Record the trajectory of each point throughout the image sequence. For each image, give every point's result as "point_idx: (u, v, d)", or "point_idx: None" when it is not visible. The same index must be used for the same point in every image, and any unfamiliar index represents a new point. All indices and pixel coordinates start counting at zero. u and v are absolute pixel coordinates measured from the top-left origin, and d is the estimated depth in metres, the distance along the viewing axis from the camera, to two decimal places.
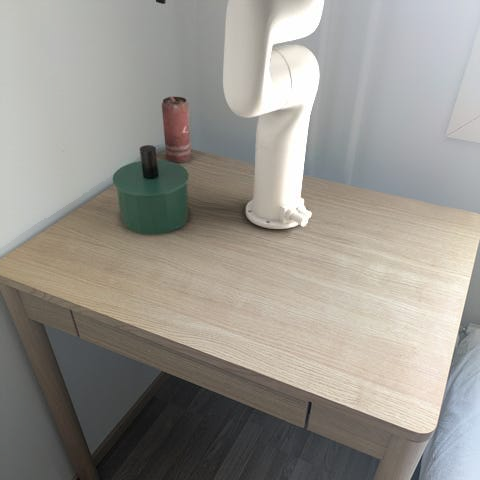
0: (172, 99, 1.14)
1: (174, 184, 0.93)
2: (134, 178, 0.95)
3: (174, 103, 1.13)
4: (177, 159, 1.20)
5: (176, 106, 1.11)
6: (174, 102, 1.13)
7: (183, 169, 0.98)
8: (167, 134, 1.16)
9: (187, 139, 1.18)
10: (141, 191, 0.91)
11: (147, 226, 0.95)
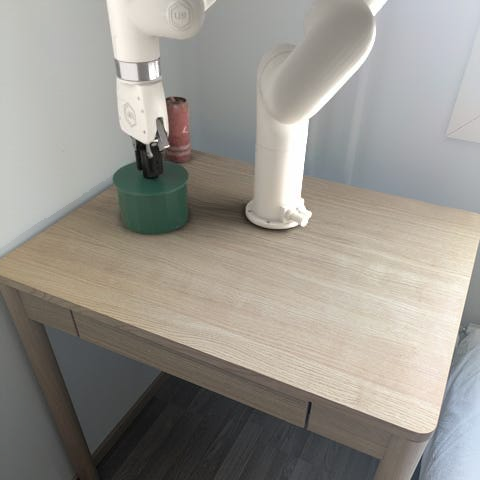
0: (172, 99, 1.14)
1: (174, 184, 0.93)
2: (134, 178, 0.95)
3: (174, 103, 1.13)
4: (177, 159, 1.20)
5: (176, 106, 1.11)
6: (174, 102, 1.13)
7: (183, 169, 0.98)
8: None
9: (187, 139, 1.18)
10: (141, 191, 0.91)
11: (147, 226, 0.95)
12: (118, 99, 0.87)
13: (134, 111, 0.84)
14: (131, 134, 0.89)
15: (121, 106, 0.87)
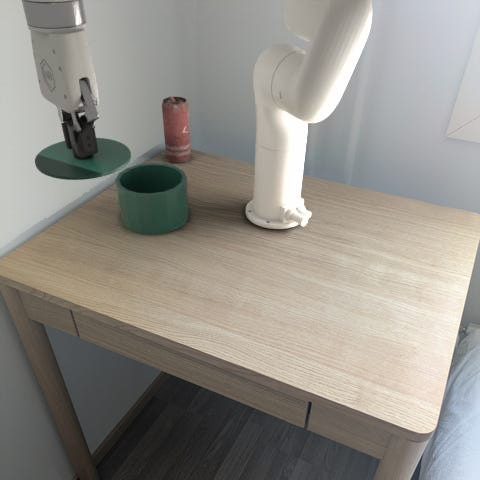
0: (172, 99, 1.14)
1: (110, 166, 0.75)
2: (62, 158, 0.76)
3: (174, 103, 1.13)
4: (177, 159, 1.20)
5: (176, 106, 1.11)
6: (174, 102, 1.13)
7: (125, 148, 0.79)
8: (167, 134, 1.16)
9: (187, 139, 1.18)
10: (67, 173, 0.72)
11: (147, 226, 0.95)
12: (34, 56, 0.69)
13: (51, 69, 0.66)
14: (52, 101, 0.70)
15: (38, 65, 0.69)
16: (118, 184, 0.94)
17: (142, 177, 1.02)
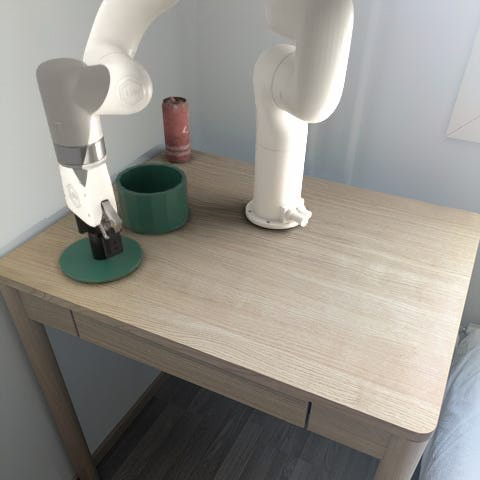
0: (172, 99, 1.14)
1: (125, 267, 0.87)
2: (83, 259, 0.88)
3: (174, 103, 1.13)
4: (177, 159, 1.20)
5: (176, 106, 1.11)
6: (174, 102, 1.13)
7: (137, 246, 0.91)
8: (167, 134, 1.16)
9: (187, 139, 1.18)
10: (88, 277, 0.84)
11: (147, 226, 0.95)
12: (62, 178, 0.80)
13: (77, 193, 0.78)
14: (77, 214, 0.82)
15: (65, 185, 0.80)
16: (118, 184, 0.94)
17: (142, 177, 1.02)
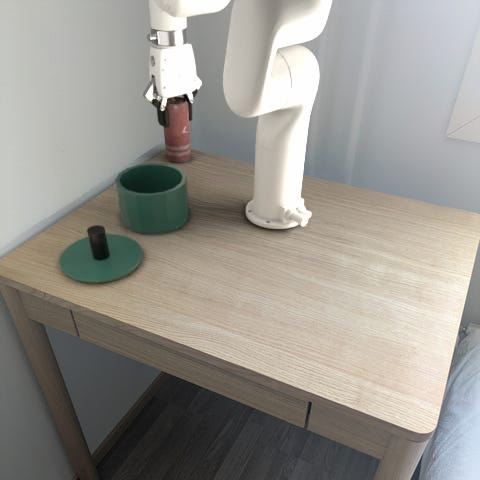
0: (172, 99, 1.14)
1: (125, 267, 0.87)
2: (83, 259, 0.88)
3: (174, 103, 1.13)
4: (177, 159, 1.20)
5: (176, 106, 1.11)
6: (174, 102, 1.13)
7: (137, 246, 0.91)
8: (167, 134, 1.16)
9: (187, 139, 1.18)
10: (88, 277, 0.84)
11: (147, 226, 0.95)
12: (164, 70, 1.05)
13: (185, 68, 1.08)
14: (179, 92, 1.10)
15: (168, 74, 1.06)
16: (118, 184, 0.94)
17: (142, 177, 1.02)
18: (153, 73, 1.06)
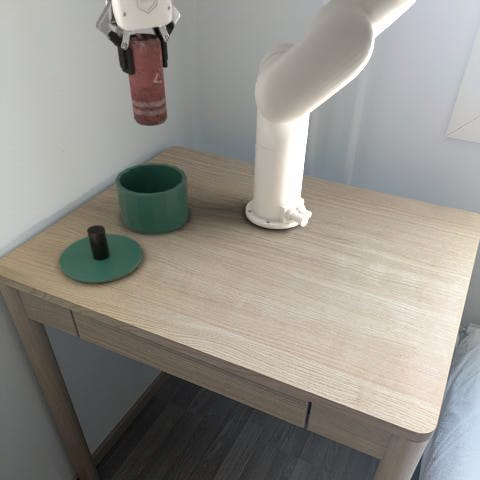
0: (139, 36, 0.84)
1: (125, 267, 0.87)
2: (83, 259, 0.88)
3: (141, 40, 0.83)
4: (148, 120, 0.89)
5: (143, 44, 0.81)
6: None
7: (137, 246, 0.91)
8: (133, 85, 0.86)
9: (161, 92, 0.88)
10: (88, 277, 0.84)
11: (147, 226, 0.95)
12: None
13: None
14: (147, 24, 0.80)
15: None
16: (118, 184, 0.94)
17: (142, 177, 1.02)
18: None
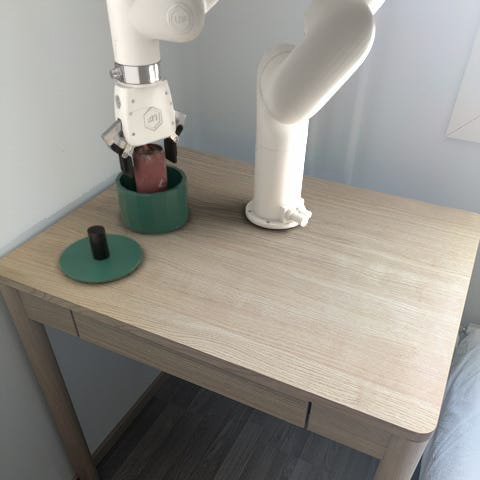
0: (145, 147, 0.93)
1: (125, 267, 0.87)
2: (83, 259, 0.88)
3: (147, 153, 0.91)
4: None
5: (149, 157, 0.90)
6: (147, 151, 0.92)
7: (137, 246, 0.91)
8: (140, 189, 0.95)
9: None
10: (88, 277, 0.84)
11: (147, 226, 0.95)
12: (132, 113, 0.83)
13: (160, 110, 0.86)
14: (153, 139, 0.88)
15: (138, 118, 0.84)
16: (118, 184, 0.94)
17: None
18: (119, 117, 0.85)
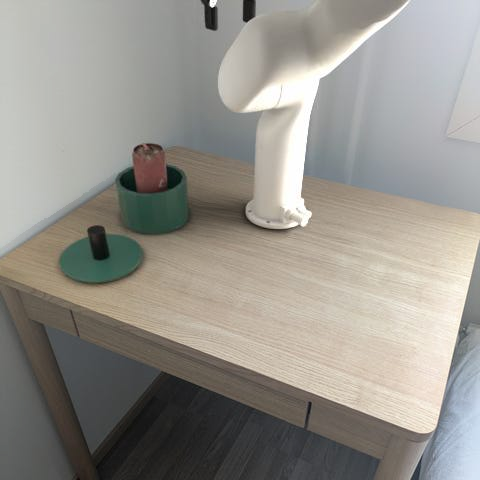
0: (145, 147, 0.93)
1: (125, 267, 0.87)
2: (83, 259, 0.88)
3: (147, 153, 0.91)
4: None
5: (149, 157, 0.90)
6: (147, 151, 0.92)
7: (137, 246, 0.91)
8: (140, 189, 0.95)
9: None
10: (88, 277, 0.84)
11: (147, 226, 0.95)
12: None
13: None
14: None
15: None
16: (118, 184, 0.94)
17: None
18: None
